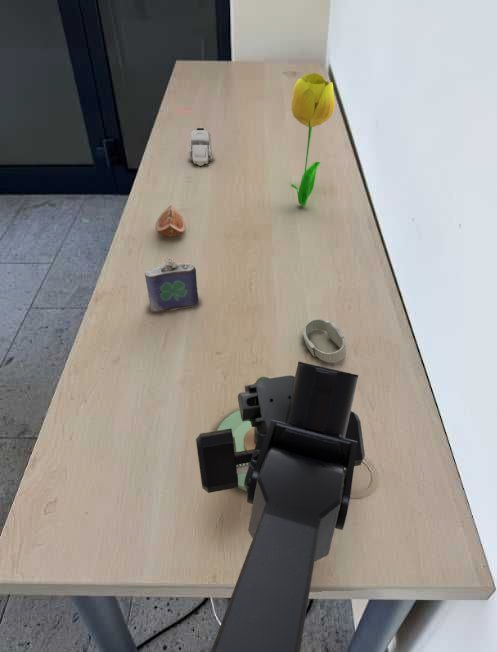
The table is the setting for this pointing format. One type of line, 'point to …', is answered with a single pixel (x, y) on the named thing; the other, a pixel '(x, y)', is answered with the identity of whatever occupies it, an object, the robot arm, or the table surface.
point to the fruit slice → (170, 223)
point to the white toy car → (200, 146)
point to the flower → (311, 119)
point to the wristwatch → (333, 333)
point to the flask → (172, 286)
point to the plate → (237, 437)
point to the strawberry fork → (251, 431)
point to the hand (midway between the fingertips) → (267, 434)
